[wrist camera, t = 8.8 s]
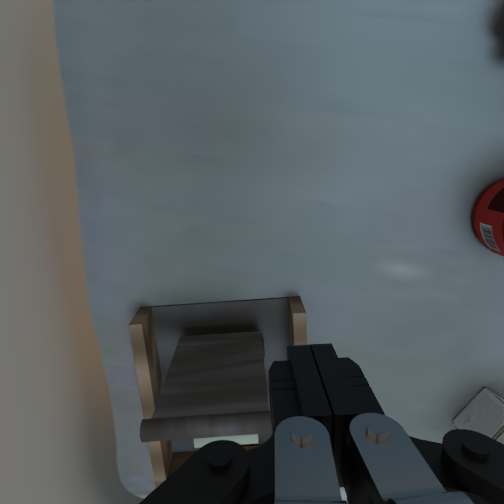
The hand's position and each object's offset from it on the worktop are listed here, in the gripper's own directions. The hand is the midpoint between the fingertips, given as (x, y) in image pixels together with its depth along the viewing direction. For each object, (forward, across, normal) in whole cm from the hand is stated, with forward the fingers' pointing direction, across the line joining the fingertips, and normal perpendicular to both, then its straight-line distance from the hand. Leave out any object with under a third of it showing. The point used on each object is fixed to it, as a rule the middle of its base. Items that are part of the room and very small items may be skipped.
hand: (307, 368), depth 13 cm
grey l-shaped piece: (+24, +5, +16) cm, 29 cm away
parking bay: (+24, +5, +17) cm, 30 cm away
